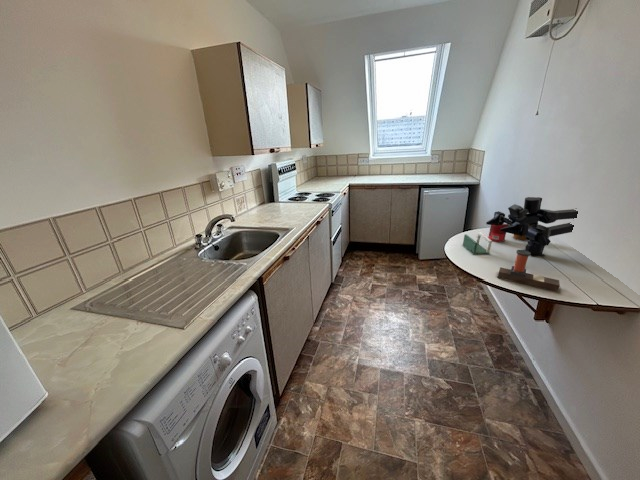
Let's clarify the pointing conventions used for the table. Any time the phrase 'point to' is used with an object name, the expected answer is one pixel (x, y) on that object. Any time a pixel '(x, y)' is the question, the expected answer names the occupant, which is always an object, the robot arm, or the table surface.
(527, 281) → the rail
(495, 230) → the canned food
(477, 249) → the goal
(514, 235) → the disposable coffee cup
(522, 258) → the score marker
